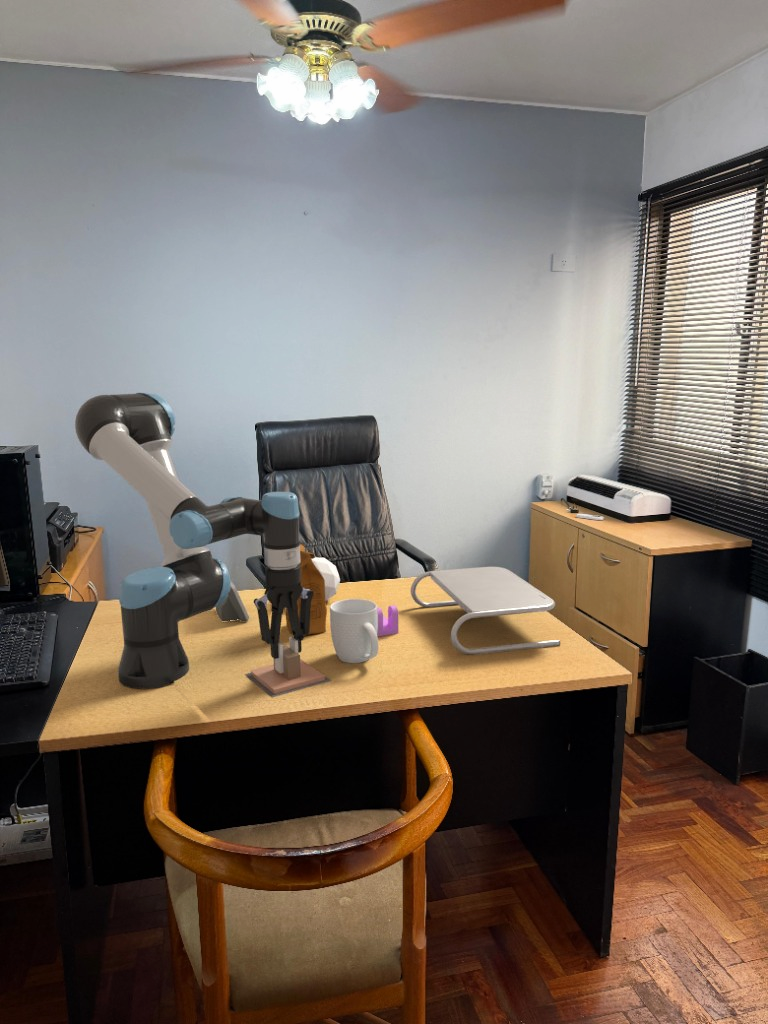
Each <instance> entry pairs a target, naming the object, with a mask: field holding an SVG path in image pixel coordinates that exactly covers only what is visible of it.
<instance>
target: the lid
mask: <svg viewBox="0 0 768 1024" xmlns="http://www.w3.org/2000/svg"><path fill="white" fill-rule="evenodd" d="M272 659H273V664H271V665H265V666H262V667H259V668H254V669H250V672H249V673H251V675H252V676H253V677H254V678H255V679H257V680H258V681H259V682H260V683H261V684H263V685H264V686H265V687H266V688H267V689H269V690H270V691H271V692H272V693H274V694H277V693H281V692H284V691H288V690H291V689H295V688H298V687H302V686H305V685H309V684H312V683H316V682H319V681H323V680H325V676H326V675H324V674H323V673H321V672H320V671H318V670H317V669H316V668H315V667H313V666H312V665H310V664H309V663H307V662H306V661H305V660H303V659H301V654H300V653H296V652H295V651H293V650H292V649H290V647H289V646H288V645H286V644H284V645H283V669H284V673H281V674H280V673H279V672H278V671H276V670H275V659H274V658H273V657H272Z"/></svg>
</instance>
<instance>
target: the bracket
mask: <svg viewBox="0 0 768 1024" xmlns="http://www.w3.org/2000/svg"><path fill="white" fill-rule="evenodd" d="M377 614H378V630H377V637H381V636H390V635H396V634H399V609H398V607H397V605H395V604H394V605H389V606H388V609H387V617H386V616H384V615H383V614H384V612H383V610H382V608H381V607H378V606H377Z"/></svg>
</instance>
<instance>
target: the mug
mask: <svg viewBox="0 0 768 1024" xmlns="http://www.w3.org/2000/svg"><path fill="white" fill-rule="evenodd" d="M377 608H378V604H377V603H375V601H373V600H369V599H363V598H346V599H341V600H338V601H334V602H333V603H331V604H330V606H329V621H330V623H329V624H330V625H329V626H330V634H331V635H330V636H331V641H332V645H333V648H334V652H335V654H336V655H337V657H338V659H339V660H340V661H341V662H343V663H347V664H359V663H363V662H366V661H369V660H371V659H374V658H375V657H377V655H378V653H379V638H378V636H377V630H378V614H377Z"/></svg>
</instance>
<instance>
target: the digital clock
mask: <svg viewBox="0 0 768 1024" xmlns="http://www.w3.org/2000/svg"><path fill="white" fill-rule="evenodd" d="M230 583H231V584H230V591H229V593H228V596H227V598H226V600H225V601H224V602H223V603H222V604H220V605H219V606H217V607H215V612H217V613H216V615H217V616H218V618H219V619H220V621H221V622H222V621H228V622H231V621H230V620H235V621H240V622H241V623H246V622H248V620H249V619H250V615H249V614H248V611H247V609H246V607H245V605H244V603H243V600H242V597H241V596H240V593H239V592H238V590H237V588H236V586H235V584H234V583H233V582H232V580H231V579H230ZM237 619H239V620H237Z"/></svg>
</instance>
